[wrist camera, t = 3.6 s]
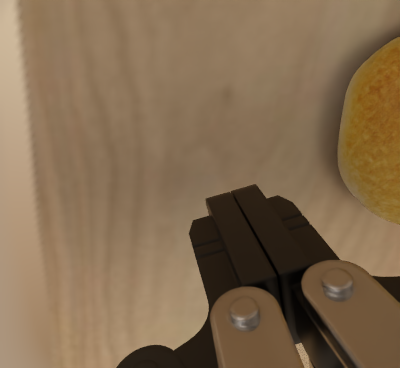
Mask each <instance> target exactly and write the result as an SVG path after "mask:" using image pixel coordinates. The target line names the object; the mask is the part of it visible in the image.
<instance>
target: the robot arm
mask: <svg viewBox="0 0 400 368" xmlns="http://www.w3.org/2000/svg"><path fill="white" fill-rule="evenodd" d="M205 200H206V205H207V209H208V213H209V216H207V217H203V218H200V219H196V220H193V222H192V225H191V228H190V232H189V235H190V239H191V242H192V246H193V249H194V253H195V257H196V260H197V264H198V267H199V271H200V274H201V278H202V281H203V285H204V288H205V292H206V295H207V299H208V303H209V312H208V317H207V319H206V322H205V323H204V325H203V327H202V328H201V329H200V331H199V332H198V333H197V334H196V335H195V336H194V337H193V338H191V339H190V340H189V341H187V342H186V343H184V344H183V345H181V346H180V347H178V348H177V349H175V350H174V351H173V350H172V349H170V348H168V347H166V346H161V345H150V346H146V347H142V348H140V349H138V350H136V351H134V352H132V353H131V354H129V355H128V356H127V357H125V358H124V359H123V360H122V361H121V362H120V364H119V365H118V366H117V368H304V365H303V363H302V360H301V358H300V355H299V353H298V350H297V348H296V346H295V344H298V343H302V345H303V347H304V349H305V351H306V352H307V354H308V356H309V366H310V368H400V276H398V277H378V276H371V275H370V274H369V273H368V272H367V271H366V270H364V269H363V268H361V267H360V266H358V265H356V264H353V263H350V262H347V261H342V260H340V259H339V258H338V256H337V255H336V254H335V253H334V252H333V250H332V249H331V248H330V247H329V246H328V244H327V243H326V242H325V241H324V240H323V238H322V237H321V236H320V235H319V234H318V232H317V231H316V230H315V229H314V228H313V226H312V225H310V224H309V222H308V220H307V219H306V218H305V217H304V216H302V213H301V212H300V211H299V210H298V208H297V207H296V206H295V205H294V204H293V202H291V201H289V200H287V199H285V198H283V197H280V196H278V195H277V196H274V197H271V198H267V199H266V197H265V196H264V195H263V193H262V192H261V190H260V189H259V188H258V186H257V185H256V184H254V185H250V186H247V187H244V188H240V189H237V190H233V191H231V193H230V192H227V193H223V194H220V195H216V196H213V197H210V198H206V199H205Z"/></svg>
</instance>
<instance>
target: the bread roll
mask: <svg viewBox="0 0 400 368" xmlns="http://www.w3.org/2000/svg"><path fill="white" fill-rule="evenodd" d="M337 156H338V168H339V172H340V175H341V177H342V180H343V181H344V183H345V185H346V187H347V188H348V190H349V191H350V192H351V193H352V195H353V196H354V197H356V198H357V199H358V200H359V201H360V202H361V203H362V205H363V206H365V207H366V208H367V209H368V210H370V211H371V212H372V213H374V214H376V215H377V216H379V217H381V218H383V219H385V220H388V221H390V222H393V223H396V224H399V225H400V37H397V38H395V39H393V40H392V41H390V42H389V43H387V44H386V45H384V46H383V47H381V48H380V49H379V50H377V51H376V52H375V53H374V54H373V55H372V56H371V57H370V58H369V59H367V60H366V61H365V62H364V63H363V64H362V65H361V66H360V68H359V69H358V70H357V71H356V72H355V74H354V75H353V77H352V79H351V81H350V83H349V86H348V89H347V91H346V94H345V100H344V105H343V111H342V117H341V124H340V132H339V139H338V151H337Z"/></svg>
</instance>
